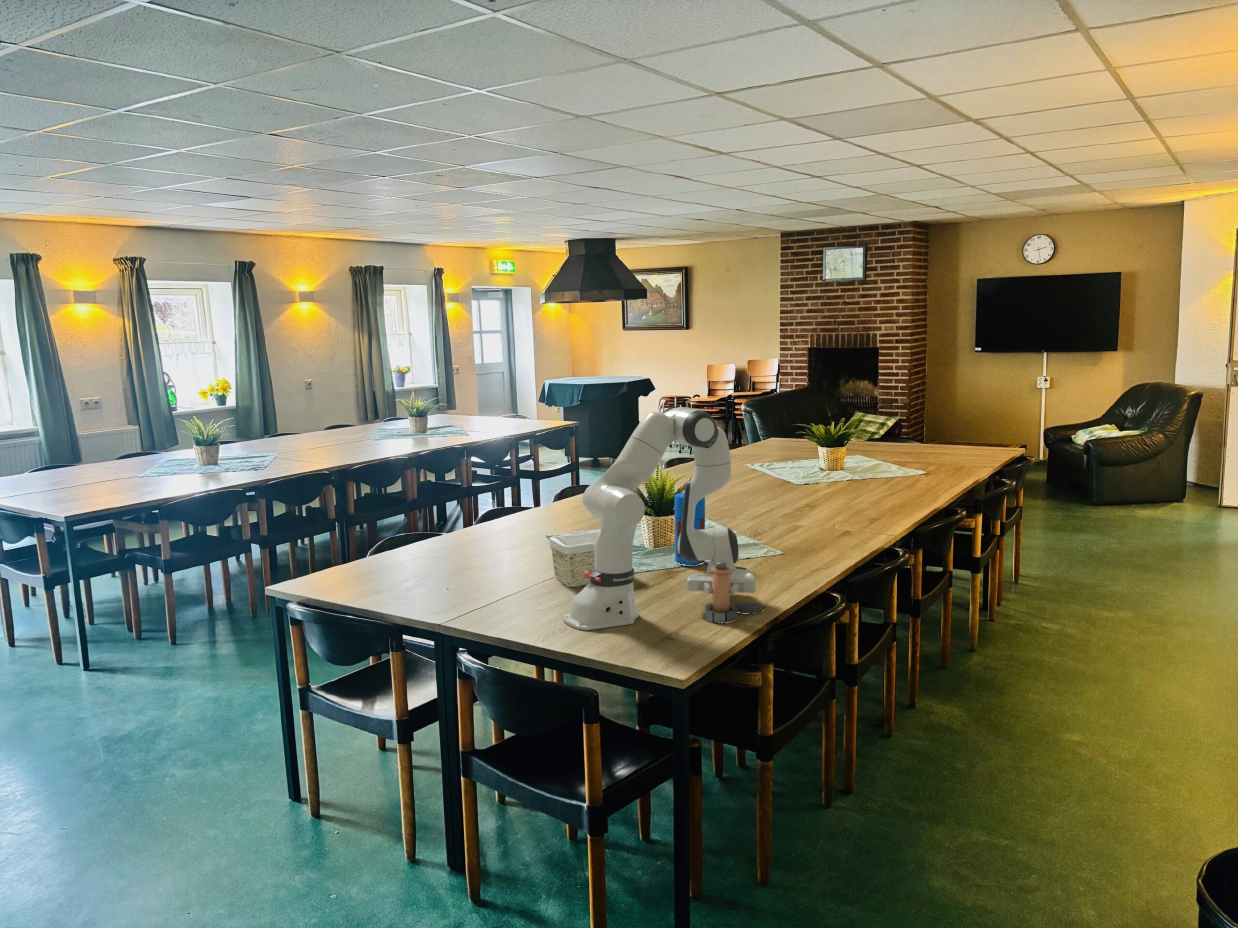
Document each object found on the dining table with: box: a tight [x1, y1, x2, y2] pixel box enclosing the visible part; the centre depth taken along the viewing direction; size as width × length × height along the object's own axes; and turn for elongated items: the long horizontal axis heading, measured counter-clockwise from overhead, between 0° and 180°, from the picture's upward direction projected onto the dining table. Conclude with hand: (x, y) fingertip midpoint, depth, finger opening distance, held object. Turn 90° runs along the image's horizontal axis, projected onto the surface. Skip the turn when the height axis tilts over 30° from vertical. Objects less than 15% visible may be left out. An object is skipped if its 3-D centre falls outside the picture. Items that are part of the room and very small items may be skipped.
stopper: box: [711, 562, 732, 612], centre depth 254 cm, size 6×6×17 cm
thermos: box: [674, 492, 706, 565], centre depth 316 cm, size 11×11×25 cm
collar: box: [704, 604, 738, 624], centre depth 255 cm, size 9×9×3 cm
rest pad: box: [731, 602, 766, 614], centre depth 264 cm, size 10×10×1 cm
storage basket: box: [549, 530, 601, 588], centre depth 298 cm, size 24×16×15 cm
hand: (721, 590), depth 254 cm, fingers closed on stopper, 5 cm apart
